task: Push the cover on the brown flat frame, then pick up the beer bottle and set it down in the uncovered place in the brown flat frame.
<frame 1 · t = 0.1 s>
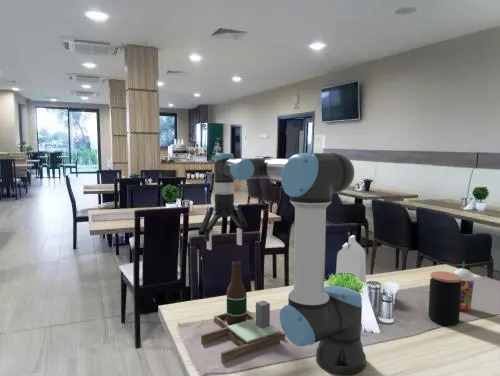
hand: (224, 247, 149), 28 cm above the table, tool pointing down, fingers open, 13 cm apart
brown flat frame: (231, 334, 136), on the table
smoothie: (460, 309, 159), on the table
milk: (350, 291, 179), on the table
cover: (252, 318, 132), point 8 cm above the table, slide at 0.0 cm
beer bottle: (236, 323, 145), on the table
coffee jar: (443, 321, 148), on the table
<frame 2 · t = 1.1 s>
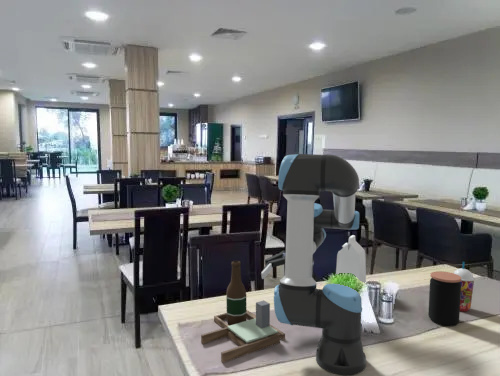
hand: (278, 281, 138), 18 cm above the table, tool tilted 70°, fingers open, 13 cm apart
nothing on the table moved.
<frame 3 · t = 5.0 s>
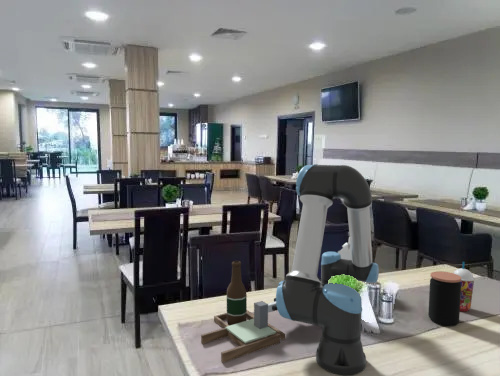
hand: (263, 309, 136), 9 cm above the table, tool horizontal, fingers closed
cover: (250, 318, 131), point 8 cm above the table, slide at 0.8 cm, touching gripper
everything else where it was.
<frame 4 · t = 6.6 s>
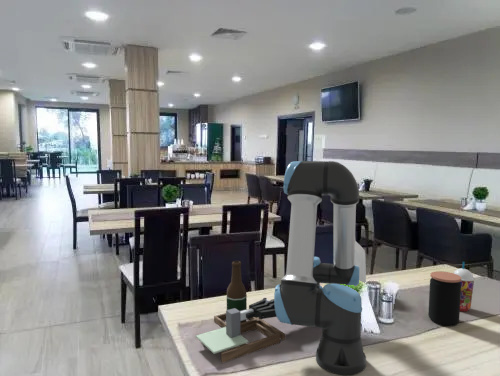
hand: (236, 317, 130), 9 cm above the table, tool horizontal, fingers closed
cover: (221, 327, 125), point 8 cm above the table, slide at 12.2 cm, touching gripper
everything else where it was.
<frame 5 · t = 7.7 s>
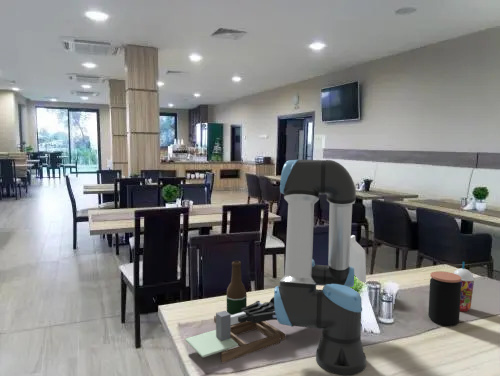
hand: (228, 320, 127), 9 cm above the table, tool horizontal, fingers closed
cover: (211, 330, 123), point 8 cm above the table, slide at 16.1 cm, touching gripper
everything else where it was.
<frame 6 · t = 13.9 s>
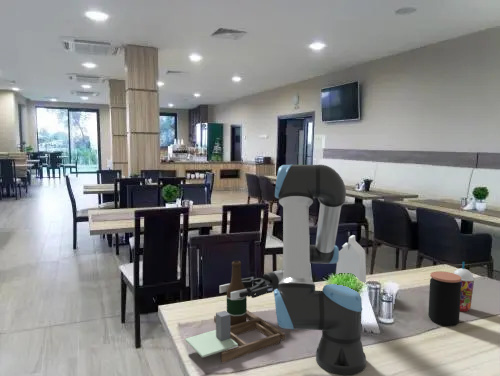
hand: (225, 292, 141), 13 cm above the table, tool horizontal, fingers closed on beer bottle, 7 cm apart
cover: (211, 330, 123), point 8 cm above the table, slide at 16.1 cm
beer bottle: (236, 323, 145), on the table, touching gripper
everything else where it was.
when the fingers open (14 cm above the table, at t = 20.0 s): beer bottle drops 1 cm, on the table.
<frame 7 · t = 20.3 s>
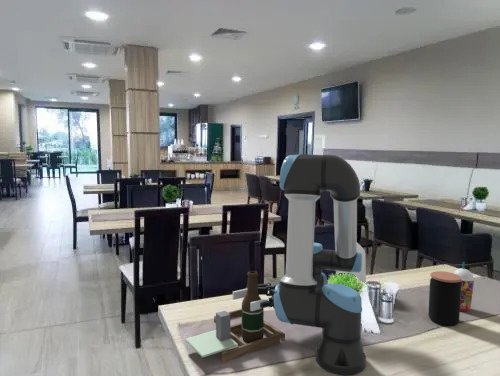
hand: (241, 301, 129), 14 cm above the table, tool horizontal, fingers open, 11 cm apart
beer bottle: (252, 339, 133), on the table
everything else where it was.
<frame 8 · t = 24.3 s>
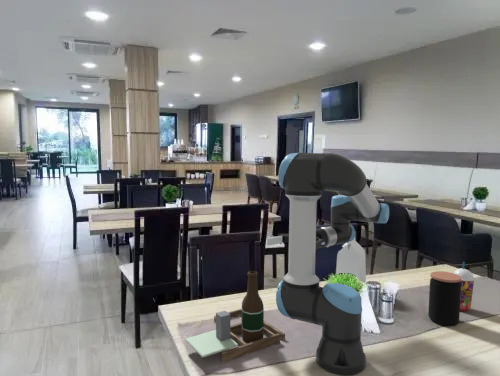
hand: (278, 245, 137), 32 cm above the table, tool horizontal, fingers open, 12 cm apart
nothing on the table moved.
at the end: cover slide at 16.1 cm; beer bottle inside the target area (0.1 cm from its centre), on the table; beer bottle tilted 0° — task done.
